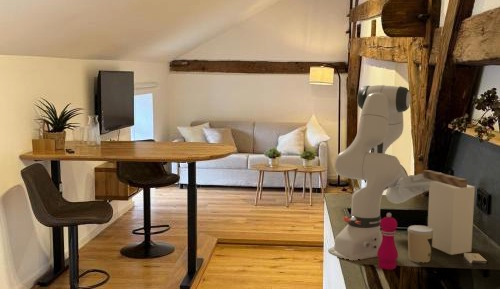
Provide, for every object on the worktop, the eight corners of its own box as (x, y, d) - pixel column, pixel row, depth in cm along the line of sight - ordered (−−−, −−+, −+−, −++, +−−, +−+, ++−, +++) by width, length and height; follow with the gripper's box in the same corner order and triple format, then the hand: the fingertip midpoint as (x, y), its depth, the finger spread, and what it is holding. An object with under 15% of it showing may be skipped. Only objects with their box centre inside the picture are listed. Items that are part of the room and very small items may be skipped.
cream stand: (471, 251, 216) (474, 186, 213) (450, 254, 213) (454, 188, 209) (446, 241, 229) (449, 180, 226) (426, 244, 226) (429, 181, 222)
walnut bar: (466, 187, 212) (467, 179, 212) (460, 187, 211) (461, 180, 211) (428, 177, 232) (429, 170, 232) (422, 177, 231) (423, 170, 231)
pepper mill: (391, 271, 195) (393, 216, 192) (373, 266, 199) (374, 212, 197) (401, 266, 200) (403, 212, 197) (383, 261, 205) (384, 209, 202)
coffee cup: (433, 264, 202) (435, 232, 201) (407, 262, 204) (408, 231, 202) (430, 256, 211) (432, 225, 210) (405, 254, 213) (406, 224, 211)
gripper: (390, 180, 238) (408, 169, 226) (429, 177, 245) (448, 166, 233) (394, 194, 235) (413, 183, 223) (433, 190, 243) (453, 180, 231)
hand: (431, 174), depth 228 cm, fingers open, 8 cm apart
